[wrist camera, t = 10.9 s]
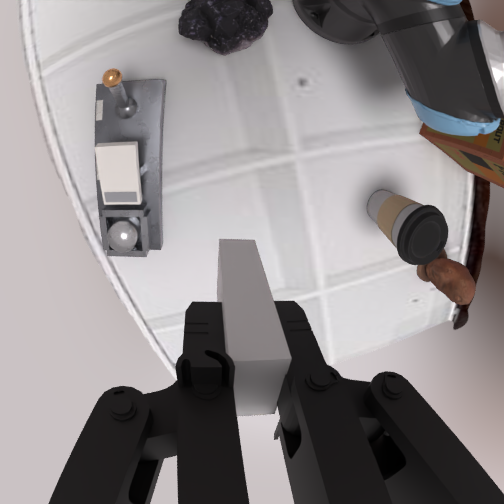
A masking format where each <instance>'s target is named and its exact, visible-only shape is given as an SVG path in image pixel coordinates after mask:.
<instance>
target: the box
mask: <svg viewBox="0 0 504 504" xmlns="http://www.w3.org/2000/svg"><path fill="white" fill-rule="evenodd" d="M419 134H421V135H422V136H423V137H425V138H426V139H427V140H429V141H430V142H431V143H433V144H434V145H435V146H437V147H438V148H439V149H440V150H442V151H443V152H444V153H446V154H447V155H448V156H449V157H450V158H452V159H453V160H454V161H455V162H457V163H458V164H459V165H460V166H461V167H462V168H464V169H465V170H466V171H468V172H470V173H472V174H475V175H477V176H479V177H481V178H484V179H486V180H488V181H490V182H492V183H494V184H496V185H498V186H500V187H503V188H504V119H502V118H501V120H500V123H499V126H498V128H497V129H496V130H494V131H493V132H491V133H488V134H481V133H478V135H477V136H459V135H452V134H447V133H443V132H440V131H437V130H434V129H432V128H430V127H429V126H427V125H426V124H425V123H424V122H423V125H422V128H421V130H420V133H419Z"/></svg>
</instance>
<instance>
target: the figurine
mask: <svg viewBox="0 0 504 504" xmlns="http://www.w3.org/2000/svg"><path fill="white" fill-rule="evenodd" d="M417 275H418V276H419V278H420V279H421V280H423V281H426V282H429V281H431V282H432V283H433V284H434V285H435V286H436V288H437V289H438V290H439V291H441V292H442V293H444V294H445V295H446V296H447V297H448V298H449V299H450V300H451V301H452V302H455V303H456V304H460V305H464V304H469V303H470V301H471V300H472V298H473V296H474V294H475V282H474V280H473V278H472V276H471V275H470V273H469V270H468V269H467V268H466V267H465V266H464V265H463V264H461V263H459V262H456V261H453V260H451V259H447V255H446V252H445V250H444V249H443V250H442V252H441V253H440V255H439V256H438V257H437V258H436V259H435V260H433V261H432V262H430V263H428V264H426V265H418V267H417Z"/></svg>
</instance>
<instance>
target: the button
mask: <svg viewBox="0 0 504 504" xmlns="http://www.w3.org/2000/svg"><path fill="white" fill-rule="evenodd" d="M140 234H141V224H140V222H139V220H138V219H137V218H136V217H119V218H118V219H117V220H116V221H115V223H114V224H113V225H112V227H111V228H110V229H109V231H108V233H107V241H108V243H109V245H110V247H111V248H112V249H114V250H115V251H117V252H120V253H126V252H129V251H131V250H132V249H133V248H134V246H135V244H136V242H137V240H138V238H139V236H140Z"/></svg>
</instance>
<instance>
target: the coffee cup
mask: <svg viewBox="0 0 504 504" xmlns="http://www.w3.org/2000/svg"><path fill="white" fill-rule="evenodd" d="M367 211H368V214H369V216H370V217H371V218H372V219H373V220H374V221H375V223H376V224H377V225H378V226H379V228H380V229H381V231H382V232H383V233H384V234H385V235H386V237H387V238H388V239H389V240H390V241H391V242H392V244H393V245H394V246H395V247H396V248H397V251H398V254H399V256H400V257H401V259H402V260H404V261H405V262H407V263H409V264H412V265H426V264H428V263H430V262H432V261H433V260H435V259H436V258H437V257H438V256H439V255H440V253H441V252H442V250H443V249H444V247H445V244H446V242H447V238H448V226H447V223H446V221H445V218H444V215H443V214H442V213H441V211H439V209H437V208H436V207H434V206H432V205H422V204H420V203H418V202H415V201H413V200H410V199H408V198H406V197H403V196H400V195H396V194H393V193H391V192H388V191H385V190H379V191H376V192H375V193H374V194H373V195H372V196H371V197H370V199H369V201H368V205H367Z"/></svg>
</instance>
